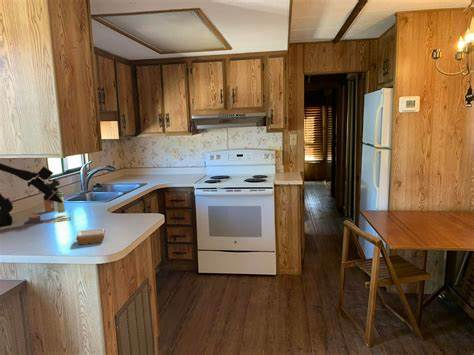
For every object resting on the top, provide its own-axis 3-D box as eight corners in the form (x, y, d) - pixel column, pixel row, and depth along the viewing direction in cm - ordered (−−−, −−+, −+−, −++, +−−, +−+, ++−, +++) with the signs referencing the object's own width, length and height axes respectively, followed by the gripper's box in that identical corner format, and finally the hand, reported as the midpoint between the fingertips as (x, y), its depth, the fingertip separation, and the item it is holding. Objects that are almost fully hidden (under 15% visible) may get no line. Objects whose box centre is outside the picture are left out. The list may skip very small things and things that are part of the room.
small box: (44, 212, 240) (43, 196, 238) (51, 210, 245) (49, 195, 244) (54, 212, 238) (53, 197, 236) (60, 210, 243) (59, 195, 242)
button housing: (29, 224, 207) (28, 218, 207) (29, 222, 213) (29, 216, 212) (40, 222, 210) (40, 217, 210) (41, 220, 215) (40, 215, 215)
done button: (30, 220, 208) (30, 216, 208) (31, 218, 212) (30, 215, 212) (38, 219, 210) (38, 215, 210) (38, 217, 214) (38, 214, 214)
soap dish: (76, 246, 165) (75, 236, 164) (78, 240, 174) (77, 230, 173) (105, 242, 169) (104, 232, 168) (105, 237, 178) (104, 227, 177)
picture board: (42, 225, 205) (42, 224, 205) (43, 219, 219) (42, 218, 219) (77, 220, 213) (77, 219, 213) (75, 214, 228) (75, 213, 228)
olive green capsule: (57, 213, 218) (55, 194, 217) (57, 211, 222) (55, 193, 220) (65, 212, 220) (63, 193, 219) (65, 210, 224) (63, 192, 222)
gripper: (47, 177, 208) (69, 194, 213) (53, 174, 226) (74, 189, 230) (33, 192, 207) (56, 208, 211) (41, 187, 224) (61, 202, 229)
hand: (62, 201), depth 221 cm, fingers closed on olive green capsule, 4 cm apart
